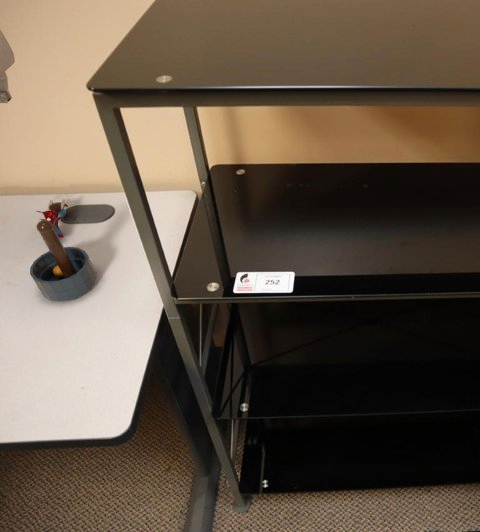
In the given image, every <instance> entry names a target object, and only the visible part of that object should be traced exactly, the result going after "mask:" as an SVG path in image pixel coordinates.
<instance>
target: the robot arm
mask: <svg viewBox="0 0 480 532" xmlns="http://www.w3.org/2000/svg"><path fill="white" fill-rule="evenodd" d="M15 59H16V58H15V53H14V51H13V48H12V47H11V45H10V43H9V41H8V39H7V38H6V36H5V35H4V33H3V31H2V29H1V28H0V104H8V103H9V102H10V101H11V100H12V99H13V97H12V94H11V92H10V90H9V80H8V75H7V73H6V72H7V70H9V69H10V68H11V67H12V66H13V65H14V64H15Z"/></svg>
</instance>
